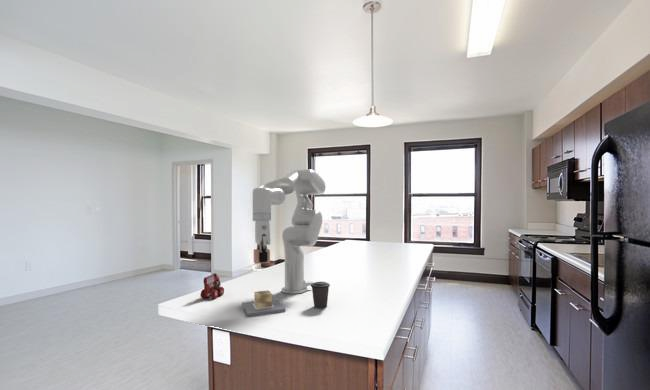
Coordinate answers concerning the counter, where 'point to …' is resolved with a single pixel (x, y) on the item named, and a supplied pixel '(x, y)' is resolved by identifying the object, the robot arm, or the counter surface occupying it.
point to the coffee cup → (320, 294)
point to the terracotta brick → (256, 256)
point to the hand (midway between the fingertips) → (261, 260)
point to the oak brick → (263, 299)
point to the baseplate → (254, 311)
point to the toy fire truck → (212, 287)
